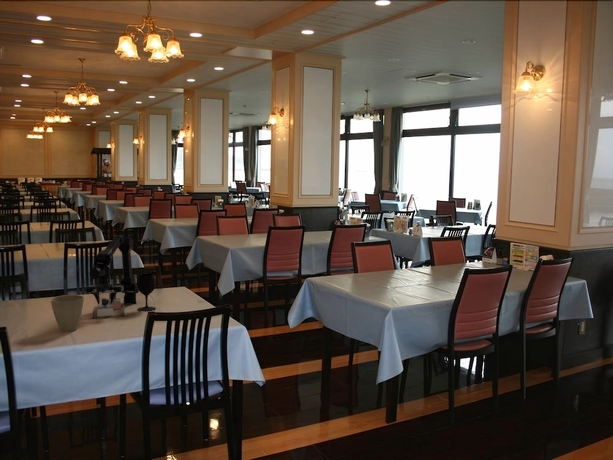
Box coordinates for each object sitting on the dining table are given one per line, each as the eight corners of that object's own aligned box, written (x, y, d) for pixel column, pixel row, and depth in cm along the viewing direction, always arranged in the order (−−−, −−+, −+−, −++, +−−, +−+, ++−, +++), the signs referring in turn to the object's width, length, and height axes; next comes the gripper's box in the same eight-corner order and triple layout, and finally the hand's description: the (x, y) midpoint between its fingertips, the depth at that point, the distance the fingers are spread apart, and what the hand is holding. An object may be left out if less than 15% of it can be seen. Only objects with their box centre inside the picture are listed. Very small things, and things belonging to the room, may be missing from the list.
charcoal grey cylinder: (116, 305, 319) (115, 292, 318) (116, 307, 316) (115, 293, 315) (109, 306, 318) (109, 292, 317) (109, 307, 315) (109, 294, 314)
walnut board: (123, 305, 325) (123, 304, 325) (125, 316, 300) (125, 315, 300) (94, 307, 319) (94, 306, 319) (93, 318, 295) (93, 317, 295)
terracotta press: (120, 305, 322) (120, 298, 322) (120, 308, 315) (120, 301, 314) (105, 306, 319) (105, 299, 319) (105, 309, 312) (105, 302, 312)
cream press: (113, 311, 308) (112, 304, 307) (113, 315, 300) (113, 307, 300) (97, 312, 305) (97, 305, 305) (97, 316, 298) (97, 308, 297)
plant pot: (51, 327, 277) (50, 296, 276) (84, 324, 283) (83, 293, 282) (51, 335, 264) (50, 302, 262) (85, 332, 270) (84, 300, 268)
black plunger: (108, 312, 305) (108, 298, 304) (108, 313, 301) (108, 299, 301) (101, 312, 304) (101, 298, 303) (101, 314, 300) (101, 299, 299)
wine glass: (133, 310, 314) (132, 275, 312) (146, 306, 324) (145, 272, 322) (146, 312, 310) (146, 277, 308) (160, 308, 319) (159, 274, 317)
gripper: (81, 278, 292) (82, 308, 293) (118, 278, 293) (118, 307, 295) (88, 274, 303) (89, 303, 305) (123, 274, 304) (124, 303, 306)
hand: (105, 304), depth 302 cm, fingers open, 6 cm apart
